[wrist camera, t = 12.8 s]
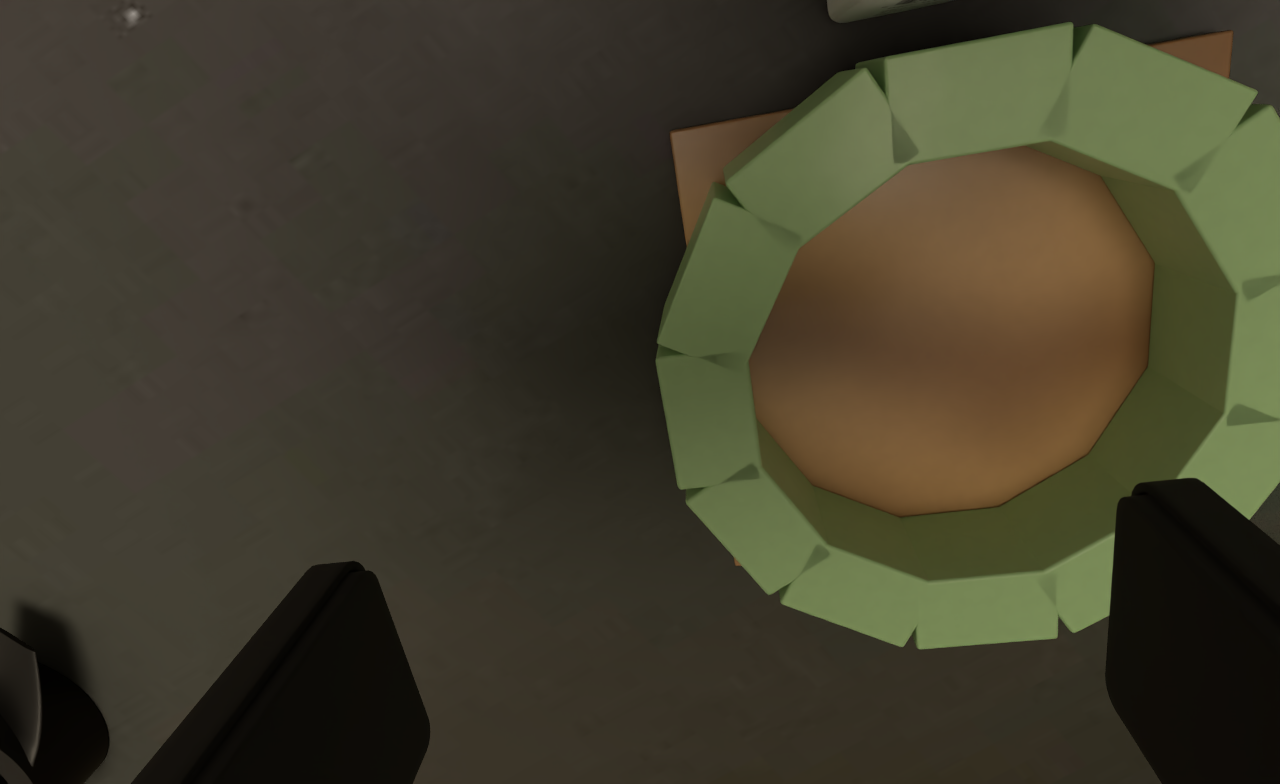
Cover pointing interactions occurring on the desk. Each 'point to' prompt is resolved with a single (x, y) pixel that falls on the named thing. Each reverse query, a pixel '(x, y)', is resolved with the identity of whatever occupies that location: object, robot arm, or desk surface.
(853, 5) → the ink box
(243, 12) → the desk surface
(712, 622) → the desk surface
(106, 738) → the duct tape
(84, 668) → the desk surface
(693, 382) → the ring
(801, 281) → the cork mat
